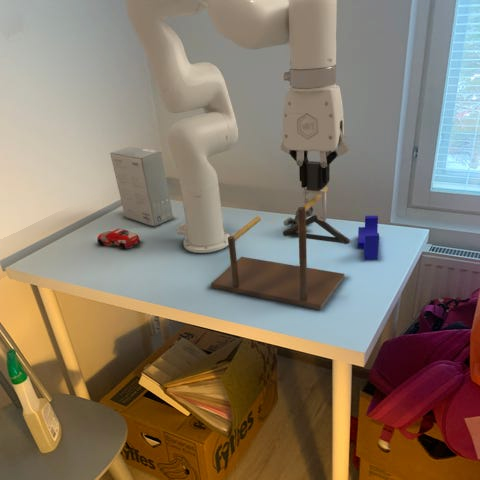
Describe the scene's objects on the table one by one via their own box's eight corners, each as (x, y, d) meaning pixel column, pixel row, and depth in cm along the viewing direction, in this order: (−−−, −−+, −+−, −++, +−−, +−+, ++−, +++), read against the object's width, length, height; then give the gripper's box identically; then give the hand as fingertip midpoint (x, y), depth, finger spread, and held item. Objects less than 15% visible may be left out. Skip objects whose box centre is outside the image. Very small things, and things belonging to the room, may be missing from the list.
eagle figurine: (316, 233, 127) (319, 214, 133) (300, 213, 123) (304, 194, 130) (292, 246, 131) (297, 227, 137) (276, 227, 128) (281, 208, 134)
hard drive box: (174, 218, 148) (162, 151, 137) (154, 227, 143) (140, 158, 132) (143, 209, 157) (130, 145, 146) (123, 217, 153) (108, 152, 142)
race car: (94, 245, 137) (90, 231, 135) (107, 237, 141) (104, 224, 138) (130, 251, 131) (127, 237, 128) (143, 243, 134) (140, 229, 132)
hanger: (281, 237, 101) (277, 161, 93) (284, 234, 102) (281, 159, 94) (348, 246, 95) (350, 166, 86) (350, 242, 96) (353, 163, 87)
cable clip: (358, 238, 124) (359, 215, 121) (376, 238, 123) (377, 215, 120) (357, 259, 115) (358, 235, 111) (377, 259, 114) (379, 235, 110)
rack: (211, 287, 110) (198, 199, 99) (242, 260, 120) (233, 177, 109) (320, 310, 98) (320, 212, 87) (344, 278, 108) (347, 186, 97)
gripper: (260, 83, 83) (267, 189, 94) (352, 81, 76) (349, 196, 86) (279, 76, 89) (284, 177, 99) (367, 73, 81) (362, 183, 91)
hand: (314, 185), depth 92 cm, fingers closed on hanger, 2 cm apart
